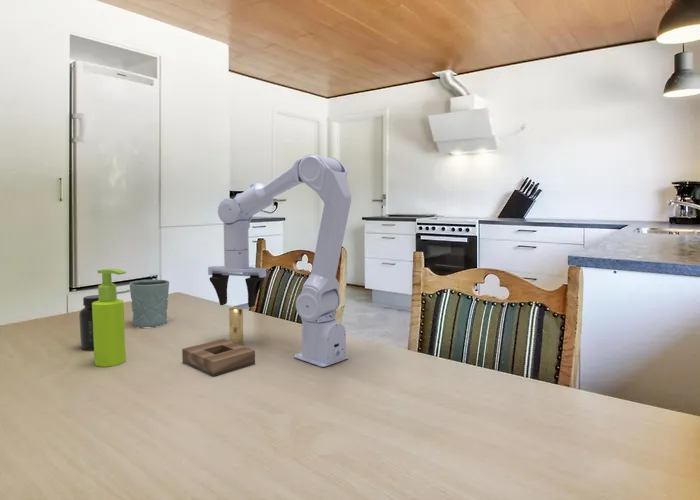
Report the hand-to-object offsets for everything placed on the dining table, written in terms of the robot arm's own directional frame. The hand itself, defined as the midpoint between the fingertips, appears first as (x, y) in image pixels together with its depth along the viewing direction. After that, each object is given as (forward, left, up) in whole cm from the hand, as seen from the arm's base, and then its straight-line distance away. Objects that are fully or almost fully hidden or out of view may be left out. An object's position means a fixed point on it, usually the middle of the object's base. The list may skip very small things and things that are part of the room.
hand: (237, 305), depth 111 cm
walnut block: (-9, +11, -9) cm, 17 cm away
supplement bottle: (+22, +24, -10) cm, 34 cm away
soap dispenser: (+8, +26, -10) cm, 29 cm away
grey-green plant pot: (+33, +6, -10) cm, 35 cm away
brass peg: (-1, +1, -9) cm, 10 cm away
